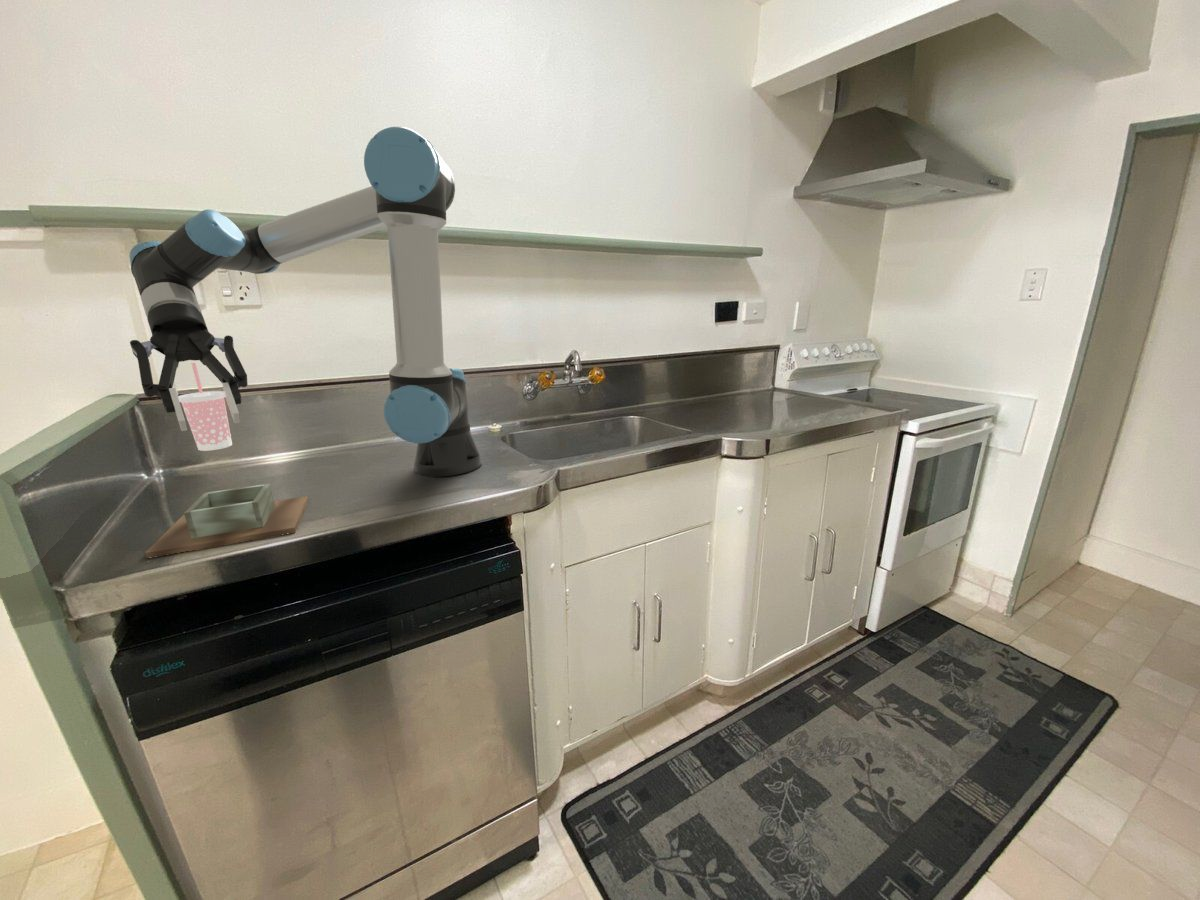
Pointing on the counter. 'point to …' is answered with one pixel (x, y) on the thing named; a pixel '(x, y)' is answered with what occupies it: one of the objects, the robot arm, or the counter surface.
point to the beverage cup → (207, 417)
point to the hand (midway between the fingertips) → (210, 421)
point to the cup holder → (231, 520)
